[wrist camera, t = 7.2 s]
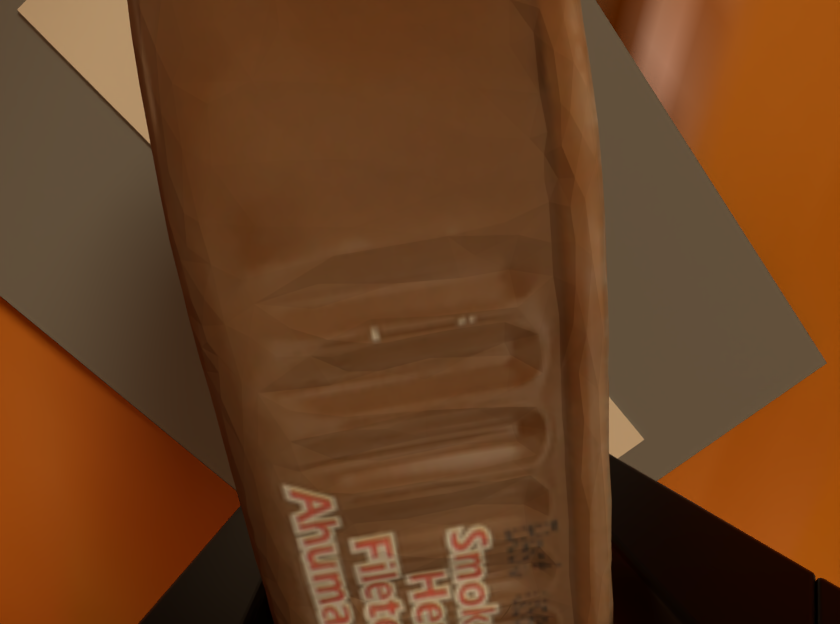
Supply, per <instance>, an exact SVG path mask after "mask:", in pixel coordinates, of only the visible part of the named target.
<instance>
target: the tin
mask: <svg viewBox="0 0 840 624" xmlns="http://www.w3.org/2000/svg"><path fill="white" fill-rule="evenodd" d="M127 4H128V12H129V20H130V28H131V36H132V42H133V48H134V54H135V61H136V67H137V73H138V79H139V85H140V91H141V96H142V101H143V107H144V112H145V117H146V123H147V128H148V133H149V139H150V144H151V149H152V155H153V160H154V165H155V170H156V176H157V181H158V186H159V192H160V197H161V202H162V207H163V212H164V217H165V221H166V226H167V231H168V236H169V241H170V245H171V249H172V253H173V257H174V261H175V265H176V269H177V272H178V276H179V280H180V284H181V288H182V292H183V296H184V301H185V305H186V309H187V313H188V317H189V321H190V324H191V328H192V332H193V336H194V339H195V343H196V347H197V351H198V354H199V358H200V361H201V365H202V368H203V371H204V375H205V378H206V381H207V385H208V388H209V392H210V395H211V399H212V403H213V406H214V410H215V414H216V417H217V421H218V425H219V428H220V432H221V436H222V439H223V443H224V447H225V450H226V454H227V458H228V462H229V466H230V470H231V473H232V476H233V480H234V483H235V487H236V490H237V494H238V497H239V501H240V505H241V508H242V512H243V515H244V519H245V523H246V526H247V530H248V534H249V538H250V541H251V545H252V549H253V552H254V556H255V560H256V563H257V566H258V569H259V572H260V575H261V578H262V581H263V585H264V588H265V591H266V595H267V599H268V603H269V607H270V611H271V615H272V618H273V621H274V624H613V593H612V577H611V559H612V550H611V514H612V497H611V480H610V463H609V376H608V362H609V316H608V289H607V264H606V233H605V208H604V192H603V177H602V164H601V151H600V140H599V129H598V119H597V111H596V104H595V96H594V89H593V82H592V74H591V67H590V60H589V54H588V48H587V42H586V35H585V29H584V23H583V16H582V8H581V0H127Z"/></svg>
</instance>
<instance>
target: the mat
mask: <svg viewBox="0 0 840 624" xmlns="http://www.w3.org/2000/svg"><path fill="white" fill-rule="evenodd" d="M581 8H582V16H583V23H584V29H585V35H586V42H587V48H588V54H589V60H590V67H591V74H592V82H593V89H594V96H595V104H596V111H597V119H598V129H599V140H600V151H601V164H602V177H603V192H604V208H605V233H606V264H607V289H608V316H609V362H608V376H609V454H611V455H613V456H614V457H616V458H618V459H619V460H621V461H623V462H624V463H626V464H628V465H630V466H631V467H633V468H635V469H636V470H638V471H640V472H642V473H643V474H645V475H647V476H648V477H650V478H652V479H654V480H655V481H657V480H659V479H660V478H662V477H663V476H665V475H666V474H667V473H669V472H670V471H672V470H673V469H675V468H676V467H678V466H679V465H680V464H682V463H683V462H685V461H686V460H688V459H689V458H691V457H692V456H693V455H695V454H696V453H698V452H699V451H701V450H702V449H704V448H705V447H706V446H708V445H709V444H711V443H712V442H714V441H715V440H716V439H718V438H719V437H721V436H722V435H724V434H725V433H727V432H728V431H729V430H731V429H732V428H734V427H735V426H737V425H738V424H740V423H741V422H742V421H744V420H745V419H747V418H748V417H750V416H751V415H753V414H754V413H755V412H757V411H758V410H760V409H761V408H763V407H764V406H766V405H767V404H768V403H770V402H771V401H773V400H774V399H776V398H777V397H779V396H780V395H781V394H783V393H784V392H786V391H787V390H789V389H790V388H792V387H793V386H794V385H796V384H797V383H799V382H800V381H802V380H803V379H804V378H806V377H807V376H809V375H810V374H812V373H813V372H815V371H816V370H817V369H819V368H820V367H822V366H823V365H825V364H826V361H825V360H824V358H823V357H822V355H821V353H820V352H819V350H818V349H817V347H816V346H815V344H814V342H813V341H812V339H811V338H810V336H809V335H808V333H807V331H806V330H805V328H804V327H803V325H802V324H801V322H800V320H799V319H798V317H797V316H796V314H795V313H794V311H793V309H792V308H791V306H790V305H789V303H788V302H787V300H786V298H785V297H784V295H783V294H782V292H781V291H780V289H779V287H778V286H777V284H776V283H775V281H774V280H773V278H772V277H771V275H770V273H769V272H768V270H767V269H766V267H765V266H764V264H763V262H762V261H761V259H760V258H759V256H758V255H757V253H756V251H755V250H754V248H753V247H752V245H751V244H750V242H749V240H748V239H747V237H746V236H745V234H744V233H743V231H742V229H741V228H740V226H739V225H738V223H737V222H736V220H735V218H734V217H733V215H732V214H731V212H730V211H729V209H728V207H727V206H726V204H725V203H724V201H723V200H722V198H721V196H720V195H719V193H718V192H717V190H716V189H715V187H714V186H713V184H712V182H711V181H710V179H709V178H708V176H707V175H706V173H705V171H704V170H703V168H702V167H701V165H700V164H699V162H698V160H697V159H696V157H695V156H694V154H693V153H692V151H691V149H690V148H689V146H688V145H687V143H686V142H685V140H684V138H683V137H682V135H681V134H680V132H679V131H678V129H677V127H676V126H675V124H674V123H673V121H672V120H671V118H670V116H669V115H668V113H667V112H666V110H665V109H664V107H663V106H662V104H661V102H660V101H659V99H658V98H657V96H656V95H655V93H654V91H653V90H652V88H651V87H650V85H649V84H648V82H647V80H646V79H645V77H644V76H643V74H642V73H641V71H640V69H639V68H638V66H637V65H636V63H635V62H634V60H633V58H632V57H631V55H630V54H629V52H628V51H627V49H626V47H625V46H624V44H623V43H622V41H621V40H620V38H619V36H618V35H617V33H616V32H615V30H614V29H613V27H612V26H611V24H610V22H609V21H608V19H607V18H606V16H605V15H604V13H603V11H602V10H601V8H600V7H599V5H598V4H597V2H596V0H581ZM0 296H1V297H2V298H3V299H5V300H6V301H7V302H8V303H10V304H11V305H12V306H13V307H14V308H16V309H17V310H18V311H19V312H20V313H22V314H23V315H24V316H25V317H26V318H28V319H29V320H30V321H31V322H33V323H34V324H35V325H36V326H37V327H39V328H40V329H41V330H42V331H43V332H45V333H46V334H47V335H48V336H50V337H51V338H52V339H53V340H54V341H56V342H57V343H58V344H59V345H60V346H62V347H63V348H64V349H65V350H66V351H68V352H69V353H70V354H71V355H73V356H74V357H75V358H76V359H77V360H79V361H80V362H81V363H82V364H83V365H85V366H86V367H87V368H88V369H90V370H91V371H92V372H93V373H94V374H96V375H97V376H98V377H99V378H100V379H102V380H103V381H104V382H105V383H106V384H108V385H109V386H110V387H111V388H113V389H114V390H115V391H116V392H117V393H119V394H120V395H121V396H122V397H123V398H125V399H126V400H127V401H128V402H130V403H131V404H132V405H133V406H134V407H136V408H137V409H138V410H139V411H140V412H142V413H143V414H144V415H145V416H146V417H148V418H149V419H150V420H151V421H153V422H154V423H155V424H156V425H157V426H159V427H160V428H161V429H162V430H163V431H165V432H166V433H167V434H168V435H169V436H171V437H172V438H173V439H174V440H176V441H177V442H178V443H179V444H180V445H182V446H183V447H184V448H185V449H186V450H188V451H189V452H190V453H191V454H193V455H194V456H195V457H196V458H197V459H199V460H200V461H201V462H202V463H203V464H205V465H206V466H207V467H208V468H209V469H211V470H212V471H213V472H214V473H216V474H217V475H218V476H219V477H220V478H222V479H223V480H224V481H225V482H226V483H228V484H229V485H230V486H231V487H233V488H234V489H235V490H236V487H235V483H234V480H233V476H232V473H231V470H230V466H229V462H228V458H227V454H226V450H225V447H224V443H223V439H222V436H221V432H220V428H219V425H218V421H217V417H216V414H215V410H214V406H213V403H212V399H211V395H210V392H209V388H208V385H207V381H206V378H205V375H204V371H203V368H202V365H201V361H200V358H199V354H198V351H197V347H196V343H195V339H194V336H193V332H192V328H191V324H190V321H189V317H188V313H187V309H186V305H185V301H184V296H183V292H182V288H181V284H180V280H179V276H178V272H177V269H176V265H175V261H174V257H173V253H172V249H171V245H170V241H169V236H168V231H167V226H166V221H165V217H164V212H163V207H162V202H161V197H160V192H159V186H158V181H157V176H156V170H155V165H154V160H153V155H152V149H151V144H150V139H149V133H148V128H147V123H146V117H145V112H144V107H143V101H142V96H141V91H140V85H139V79H138V73H137V67H136V61H135V54H134V48H133V42H132V36H131V28H130V20H129V12H128V4H127V0H0ZM236 491H237V490H236Z"/></svg>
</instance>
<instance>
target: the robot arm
mask: <svg viewBox="0 0 840 624" xmlns="http://www.w3.org/2000/svg"><path fill="white" fill-rule="evenodd" d="M609 463H610V480H611V497H612V514H611V550H612V559H611V577H612V593H613V624H840V588H839V587H837V586H836V585H834V584H832V583H830V582H829V581H827V580H825V579H823V578H818V579H817V580H816V579H815V575H814V573H813V572H811V571H809V570H808V569H806V568H804V567H803V566H801V565H799V564H797V563H796V562H794V561H792V560H791V559H789V558H787V557H785V556H784V555H782V554H780V553H779V552H777V551H775V550H773V549H772V548H770V547H768V546H767V545H765V544H763V543H761V542H760V541H758V540H756V539H755V538H753V537H751V536H749V535H748V534H746V533H744V532H743V531H741V530H739V529H737V528H736V527H734V526H732V525H731V524H729V523H727V522H725V521H724V520H722V519H720V518H719V517H717V516H715V515H714V514H712V513H710V512H708V511H707V510H705V509H703V508H702V507H700V506H698V505H696V504H695V503H693V502H691V501H690V500H688V499H686V498H684V497H683V496H681V495H679V494H678V493H676V492H674V491H672V490H671V489H669V488H667V487H666V486H664V485H662V484H660V483H659V482H657V481H655V480H654V479H652V478H650V477H648V476H647V475H645V474H643V473H642V472H640V471H638V470H636V469H635V468H633V467H631V466H630V465H628V464H626V463H624V462H623V461H621V460H619V459H618V458H616V457H614V456H613V455H611V454H609ZM138 624H274V621H273V618H272V615H271V611H270V607H269V603H268V599H267V595H266V591H265V588H264V585H263V581H262V578H261V575H260V572H259V569H258V566H257V563H256V560H255V556H254V552H253V549H252V545H251V541H250V538H249V534H248V530H247V526H246V523H245V519H244V515H243V512H242V508H241V506H240V507H239V508H238V509H237V510H236V511H235V513H234V514H233V515H232V516H231V517H230V518H229V520H228V521H227V522H226V523H225V524H224V525H223V526H222V528H221V529H220V530H219V531H218V532H217V533H216V535H215V536H214V537H213V538H212V539H211V540H210V541H209V543H208V544H207V545H206V546H205V547H204V548H203V550H202V551H201V552H200V553H199V554H198V555H197V556H196V558H195V559H194V560H193V561H192V562H191V563H190V565H189V566H188V567H187V568H186V569H185V570H184V572H183V573H182V574H181V575H180V576H179V577H178V578H177V580H176V581H175V582H174V583H173V584H172V585H171V587H170V588H169V589H168V590H167V591H166V592H165V593H164V595H163V596H162V597H161V598H160V599H159V600H158V602H157V603H156V604H155V605H154V606H153V607H152V608H151V610H150V611H149V612H148V613H147V614H146V615H145V617H144V618H143V619H142V620H141V621H140V622H139V623H138Z"/></svg>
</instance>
